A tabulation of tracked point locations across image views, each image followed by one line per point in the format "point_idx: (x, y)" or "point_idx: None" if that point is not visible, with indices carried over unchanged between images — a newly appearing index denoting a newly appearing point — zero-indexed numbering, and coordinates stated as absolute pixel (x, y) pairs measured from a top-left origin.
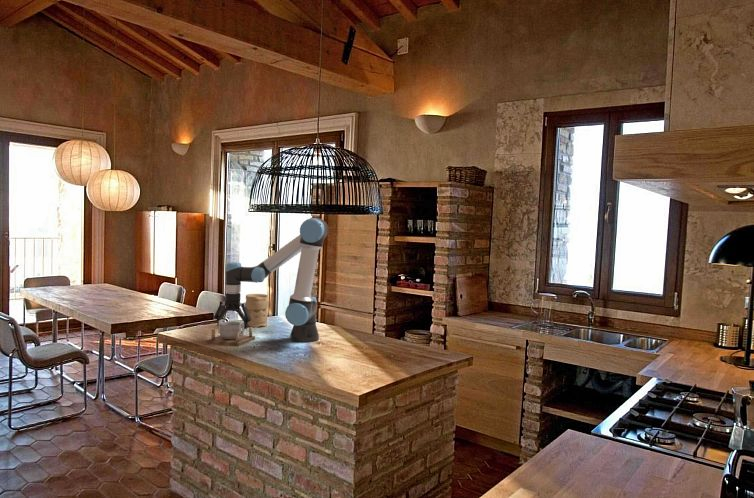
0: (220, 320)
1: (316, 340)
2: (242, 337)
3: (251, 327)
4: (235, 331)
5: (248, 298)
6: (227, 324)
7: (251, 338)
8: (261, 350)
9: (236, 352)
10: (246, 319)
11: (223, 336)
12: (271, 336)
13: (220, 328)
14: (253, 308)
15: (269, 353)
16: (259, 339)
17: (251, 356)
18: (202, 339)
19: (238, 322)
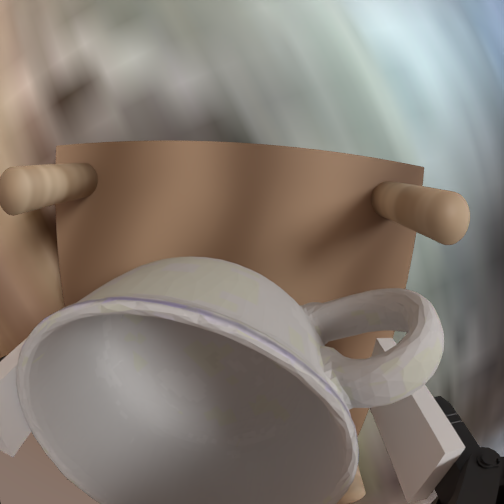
0: (5, 445)
1: None
2: (317, 267)
3: (463, 233)
4: (301, 454)
5: None
6: (57, 336)
7: (410, 248)
8: (477, 433)
9: (368, 500)
10: (483, 491)
11: (182, 431)
12: (473, 30)
13: (123, 474)
14: None
15: (499, 445)
16: (446, 164)
17: (434, 499)
18: (6, 320)
19: (252, 349)
